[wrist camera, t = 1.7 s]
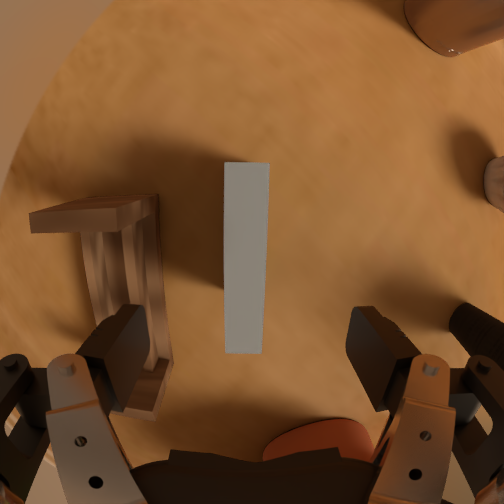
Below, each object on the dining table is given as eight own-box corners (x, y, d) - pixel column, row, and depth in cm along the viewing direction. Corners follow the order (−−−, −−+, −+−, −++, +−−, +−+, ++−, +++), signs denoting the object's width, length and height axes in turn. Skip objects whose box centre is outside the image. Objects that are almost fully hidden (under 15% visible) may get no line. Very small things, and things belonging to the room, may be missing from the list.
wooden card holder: (86, 197, 24) (28, 213, 15) (158, 194, 24) (115, 208, 16) (112, 356, 29) (83, 406, 21) (173, 363, 30) (155, 421, 21)
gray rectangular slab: (232, 165, 24) (224, 162, 14) (259, 166, 24) (269, 163, 14) (231, 291, 27) (225, 353, 18) (255, 292, 27) (261, 353, 18)
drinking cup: (443, 304, 29) (544, 397, 10) (480, 285, 29) (577, 356, 9) (438, 349, 31) (515, 442, 12) (474, 329, 31) (552, 404, 11)
